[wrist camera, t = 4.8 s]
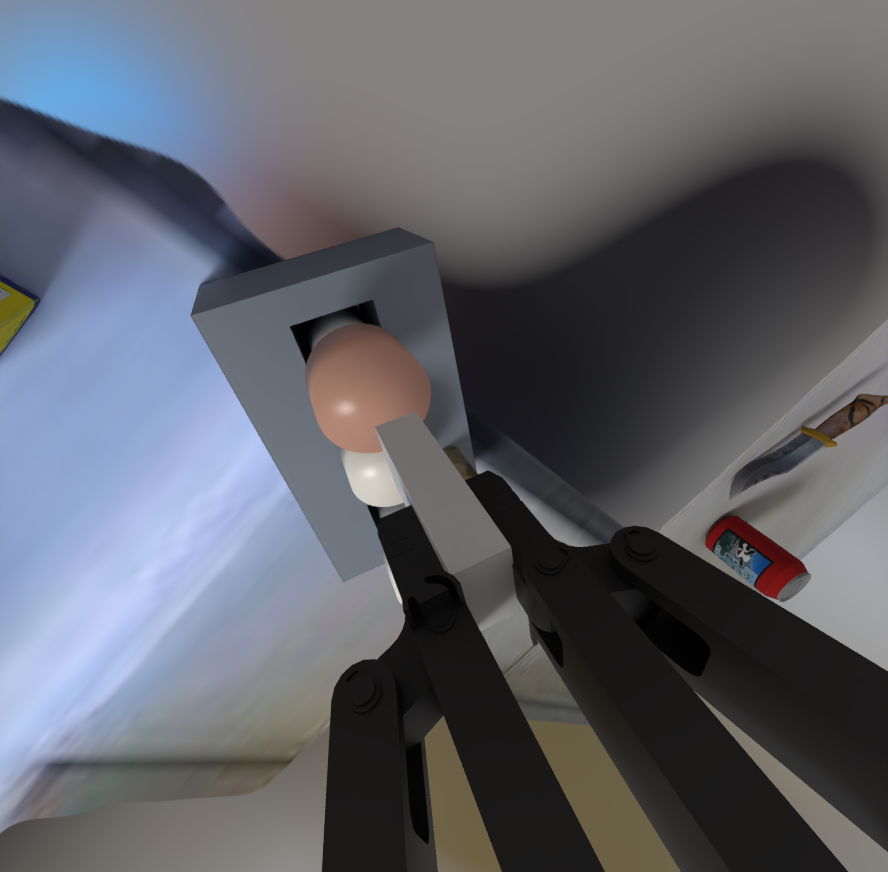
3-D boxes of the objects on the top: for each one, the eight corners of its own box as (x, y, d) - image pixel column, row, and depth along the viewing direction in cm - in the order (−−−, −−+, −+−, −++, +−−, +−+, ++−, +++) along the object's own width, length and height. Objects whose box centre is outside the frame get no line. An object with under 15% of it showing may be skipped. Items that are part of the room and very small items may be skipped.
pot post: (437, 474, 30) (474, 532, 25) (431, 453, 29) (469, 510, 24) (463, 463, 30) (504, 519, 25) (458, 441, 29) (501, 495, 24)
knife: (714, 492, 60) (747, 515, 56) (713, 486, 59) (746, 509, 55) (852, 387, 60) (895, 402, 56) (854, 380, 59) (897, 395, 55)
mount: (329, 528, 36) (343, 582, 32) (199, 285, 24) (190, 315, 19) (455, 473, 39) (485, 516, 34) (398, 227, 26) (433, 242, 21)
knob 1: (312, 391, 25) (338, 469, 19) (277, 311, 22) (294, 371, 16) (391, 363, 26) (440, 428, 20) (367, 282, 23) (416, 329, 17)
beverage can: (702, 527, 64) (780, 589, 55) (737, 505, 65) (820, 562, 56) (699, 551, 69) (772, 612, 59) (732, 530, 69) (809, 587, 60)
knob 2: (339, 446, 32) (365, 519, 25) (314, 390, 29) (337, 456, 22) (401, 422, 33) (441, 486, 26) (383, 365, 30) (424, 421, 23)
